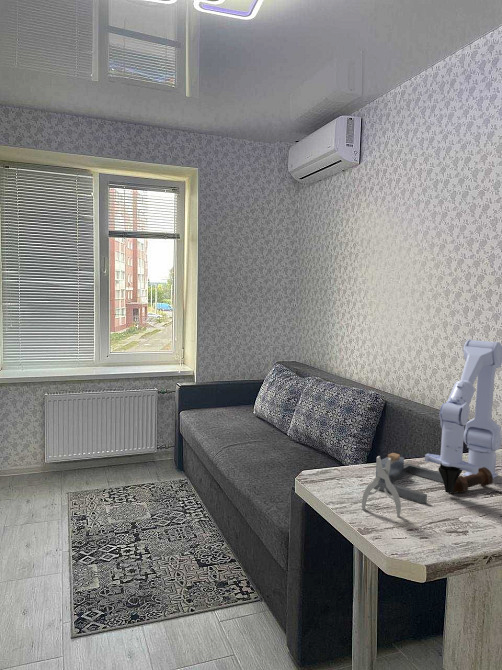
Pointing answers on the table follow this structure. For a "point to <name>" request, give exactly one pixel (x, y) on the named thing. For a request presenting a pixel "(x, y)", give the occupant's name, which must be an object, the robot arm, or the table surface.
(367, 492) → the pliers
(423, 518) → the table surface
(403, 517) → the table surface
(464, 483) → the bolt
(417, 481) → the table surface
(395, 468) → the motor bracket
